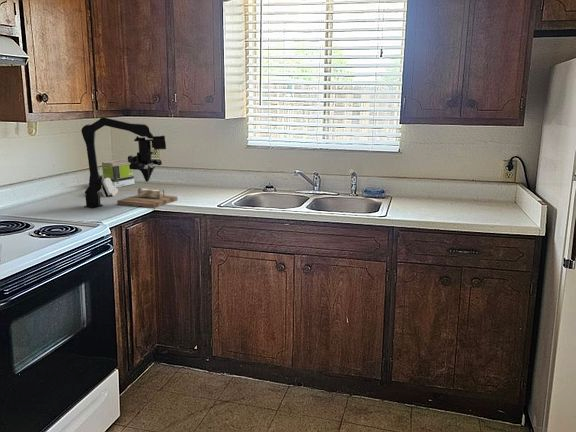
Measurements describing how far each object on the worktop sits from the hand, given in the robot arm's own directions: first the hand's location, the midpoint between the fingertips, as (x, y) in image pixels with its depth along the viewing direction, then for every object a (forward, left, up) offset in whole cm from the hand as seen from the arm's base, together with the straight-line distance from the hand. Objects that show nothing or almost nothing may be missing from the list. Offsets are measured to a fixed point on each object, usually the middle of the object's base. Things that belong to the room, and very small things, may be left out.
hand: (147, 181), depth 268 cm
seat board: (+2, +2, -11) cm, 12 cm away
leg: (+6, +3, -9) cm, 11 cm away
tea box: (+37, +48, -12) cm, 62 cm away
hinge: (+13, +36, -12) cm, 40 cm away
